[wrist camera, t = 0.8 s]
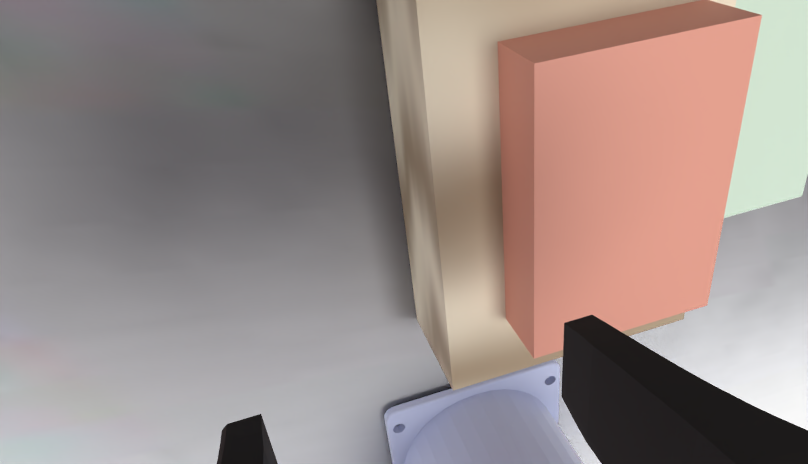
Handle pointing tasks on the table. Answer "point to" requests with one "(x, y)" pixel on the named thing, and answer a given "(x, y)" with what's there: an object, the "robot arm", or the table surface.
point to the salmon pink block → (618, 165)
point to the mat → (773, 110)
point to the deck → (466, 165)
